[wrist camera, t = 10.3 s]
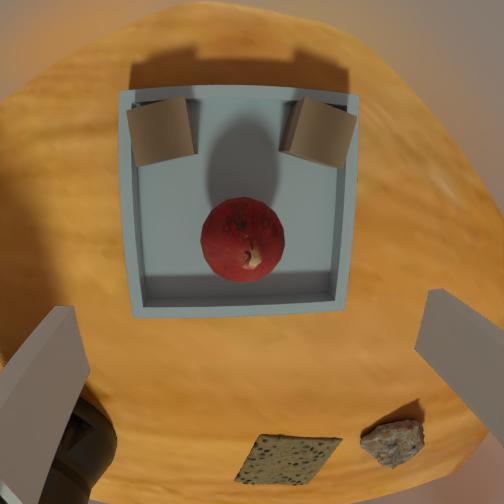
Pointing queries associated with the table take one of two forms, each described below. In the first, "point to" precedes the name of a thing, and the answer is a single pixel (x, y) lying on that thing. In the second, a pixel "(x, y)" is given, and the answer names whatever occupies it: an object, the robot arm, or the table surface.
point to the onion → (242, 239)
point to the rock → (394, 442)
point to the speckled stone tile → (286, 460)
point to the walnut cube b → (318, 133)
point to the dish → (228, 187)
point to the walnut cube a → (161, 131)
